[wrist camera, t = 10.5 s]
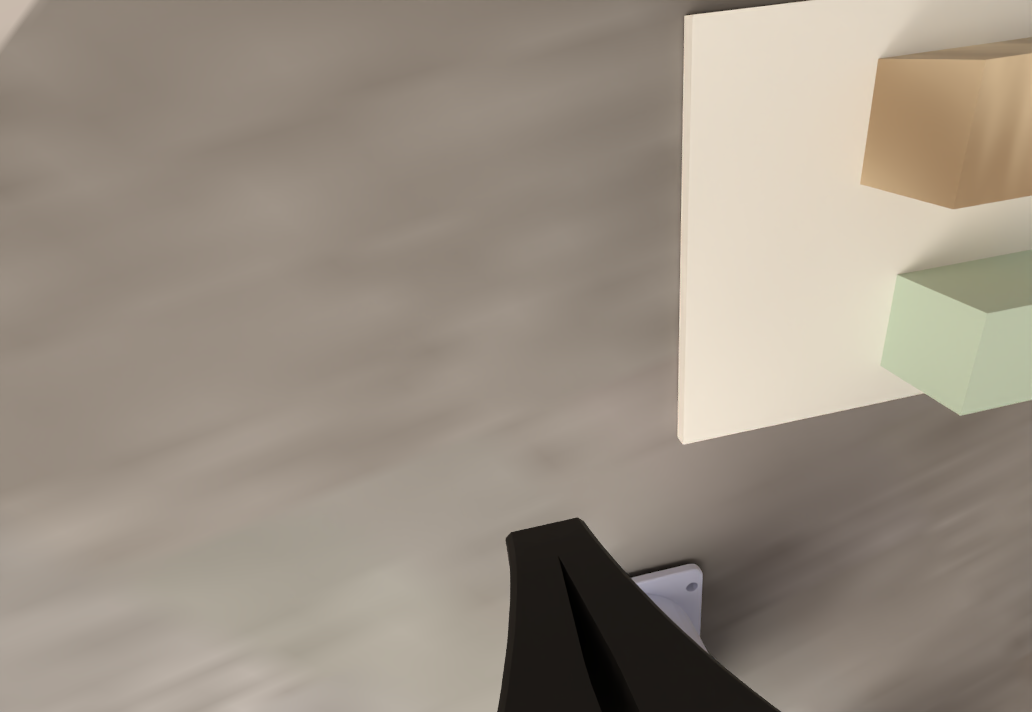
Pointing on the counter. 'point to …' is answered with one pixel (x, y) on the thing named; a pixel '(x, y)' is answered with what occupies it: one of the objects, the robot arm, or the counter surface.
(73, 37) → the counter surface
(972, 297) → the sage block
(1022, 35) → the mat
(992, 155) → the oak block
